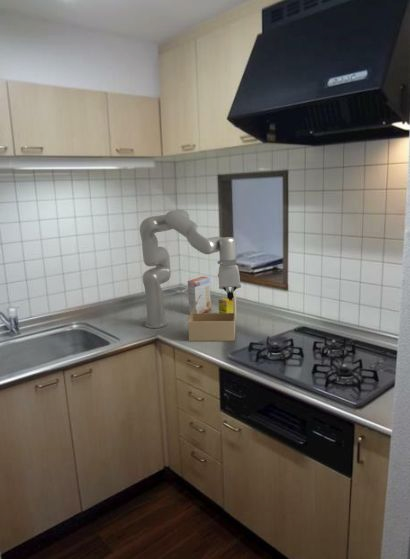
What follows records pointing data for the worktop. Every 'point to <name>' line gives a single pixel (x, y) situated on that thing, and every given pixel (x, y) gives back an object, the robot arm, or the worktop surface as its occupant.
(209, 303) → the cracker box
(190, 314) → the flap
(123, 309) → the worktop surface
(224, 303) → the supplement box
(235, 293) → the flap
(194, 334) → the carton
